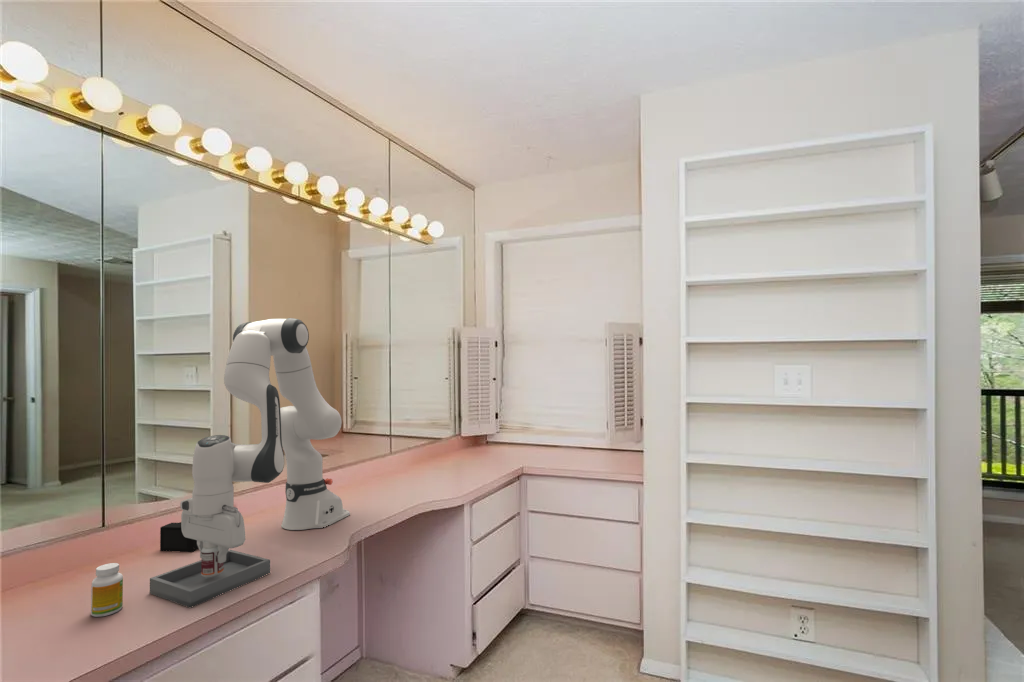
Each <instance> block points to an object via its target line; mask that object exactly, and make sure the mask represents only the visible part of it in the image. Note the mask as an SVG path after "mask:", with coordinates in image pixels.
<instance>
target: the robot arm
mask: <svg viewBox="0 0 1024 682" xmlns="http://www.w3.org/2000/svg"><path fill="white" fill-rule="evenodd" d="M309 338H310V333H309V329H308V327H307V325H306V324H305V323H304V322H303V321H302V319H298V318H293V317H289V318H268V319H263V320H257V321H247V322H244V323H241V324H239V325H238V326H237V327H236V328H235V330H234V332H233V334H232V344H231V347H230V350H229V352H228V355H227V358H226V359H227V360H226V365H225V368H224V369H225V370H224V375H223V376H224V377H223V382H224V383H223V384H224V386H225V389H226V390H227V391H228V392H229V394H230V395H232V397H235V398H237V399H239V400H240V401H244V402H246V403H248V404H251V405H254V406H256V407H257V409H259V411H260V418H261V419H260V420H261V421H260V422H261V423H260V424H261V441H260V442H259V443H255V444H252V443H249V444H245V443H243V444H241V443H234V442H232V438H231V437H230V436H229V435H225V434H215V435H210V436H205V437H203V438H202V439H200V440H198V441H197V442H196V444H195V447H194V451H193V457H192V474H191V475H192V479H193V482H194V483H193V489H192V493H191V497H189V498H187V499H183V500H181V501H180V505H179V506H180V510H182V511H181V516H180V522H181V528H182V533H183V535H184V537H186V538H190V539H194V540H197V545H198V548H199V549H198V550H199V557H200V559H201V551H202V549H203V548H204V547H203V541H207V542H209V543H210V544H214V545H218V549H219V553H218V555H216V562H217V563H223V562H225V561H226V554H227V552H228V550H233V549H234V548H235V549H236V548H238V547H240V546H243V545H245V542H246V528H245V527H246V526H245V520H244V517H243V515H242V512H240V510H239V509H238V507H236V506H234V503H235V502H234V499H235V498H234V496H235V492H234V483H233V482H235V483H237V482H239V483H240V482H243V483H244V482H254V483H262V484H263V483H264V484H268V483H271V482H273V481H274V480H275V479H277V478H278V476H280V475H281V474H282V472H283V471H284V467H285V461H286V475H287V476H286V482H285V487H284V489H285V490H284V491H285V499H286V501H285V508H284V515H283V519H282V522H281V528H282V529H285V530H288V531H289V530H290V531H300V530H302V531H303V530H309V529H322V528H323V527H324V528H326V526H327V527H328V525H329V526H330V525H332V524H335V523H337V522H338V521H340V520H342V519H344V518H346V517H348V516H351V513H350V511H349V510H347V509H345V508H344V507H343V506H344V505H343V501H342V498H341V497H340V496H338V495H337V494H336V493H334V492H333V491H331V490H330V489H328V487H327V485H329V486H331V485H332V484H333V481H334V480H333V479H332V478H324V477H323V476H324V475H323V465H324V464H323V461H324V460H323V456H322V454H321V453H320V452H319V451H318V450H317V449H315V448H314V445H312V442H311V440H316V441H317V440H319V441H320V440H327V439H330V438H334V437H336V436H337V435H338V433H339V432H340V430H341V428H342V424H343V423H342V417H341V414H340V412H339V411H338V410H337V409H336V408H334V407H332V406H331V405H330V404H329V403H328V402H327V401H326V400H325V398H324V397H323V396H322V394H321V392H320V391H319V388H318V386H317V383H316V380H315V376H314V375H315V374H314V371H313V366H312V361H311V357H310V355H309V351H308V349H307V345H308V343H309V340H310V339H309ZM271 357H273V367H274V371H275V376H276V377H275V378H276V380H277V384H278V389H277V388H276V387H275V386H274V385H273V384H272V383H271V381H270V368H271V362H272V361H271ZM278 390H279V391H278ZM279 393H280V395H281V397H283V398H285V399H286V400H288V401H289V402H290V403H291V404H292V405H288V406H283V407H281V401H280V395H279Z"/></svg>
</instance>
